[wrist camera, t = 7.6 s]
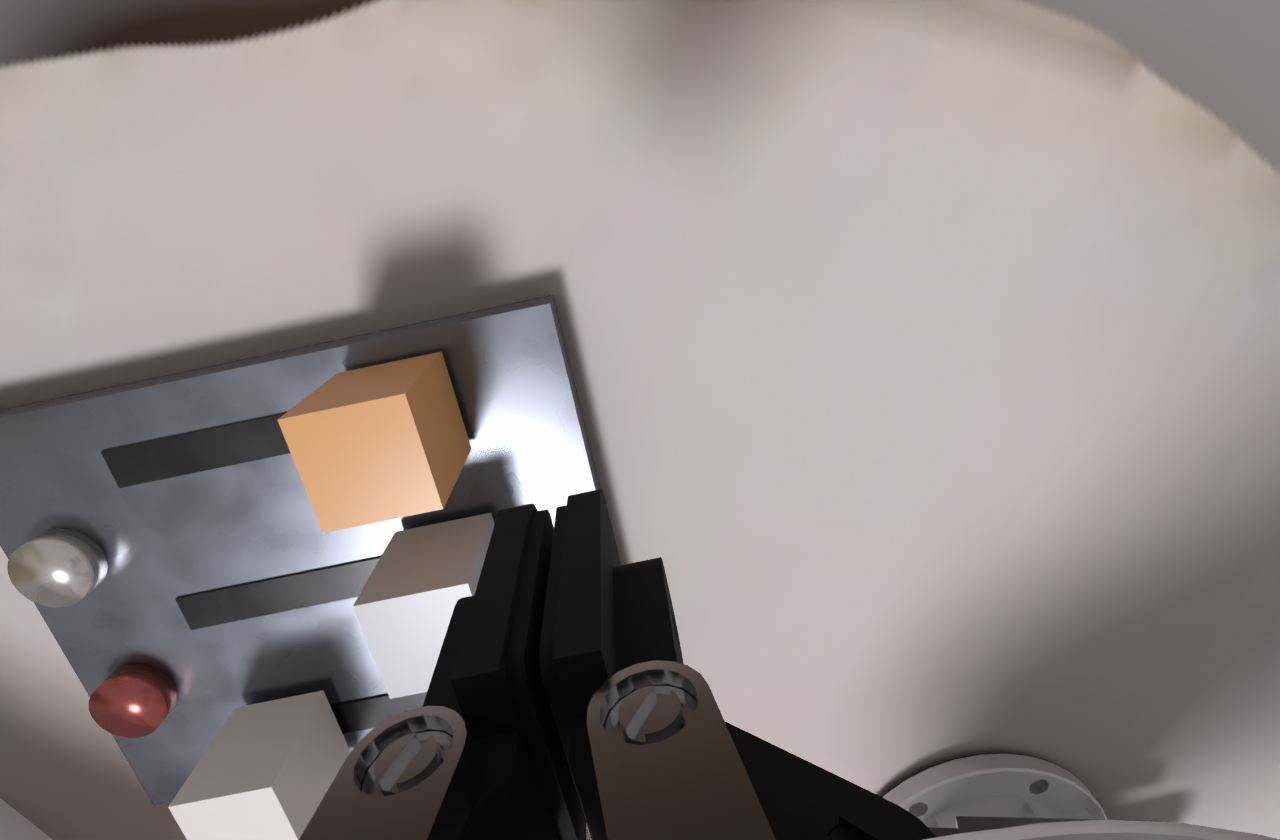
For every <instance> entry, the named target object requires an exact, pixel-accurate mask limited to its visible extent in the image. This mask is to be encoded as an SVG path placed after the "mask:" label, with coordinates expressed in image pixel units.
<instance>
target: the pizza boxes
mask: <svg viewBox="0 0 1280 840" xmlns="http://www.w3.org/2000/svg"><path fill="white" fill-rule="evenodd" d="M0 840H53V839H52V838H50V837H49V836H48V835H46V834H45V833H44V832H43V831H41V830H40V829H39V828H38V827H36V826H35V825H34V824H32V823H31V822H30V821H29V820H27V819H26V818H25V817H24V816H22V815H21V814H20V813H18V812H17V811H16V810H15V809H13V808H12V807H11V806H10V805H8V804H7V803H6V802H4V801H3V800H2V799H1V798H0Z"/></svg>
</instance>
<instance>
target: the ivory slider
mask: <svg viewBox="0 0 1280 840" xmlns="http://www.w3.org/2000/svg"><path fill="white" fill-rule="evenodd" d="M350 753H351V752H350V749H349V747H348V745H347V743H346V740H345V738H344V736H343V734H342V731H341V729H340V727H339V725H338V722H337V720H336V718H335V716H334V713H333V711H332V709H331V707H330V704H329V702H328V700H327V698H326V695H325V693H324V691H323V690H322V691H317V692H312V693H307V694H302V695H297V696H292V697H287V698H282V699H277V700H272V701H267V702H261V703H256V704H251V705H246V706H241V707H236V708H235V709H234V711H233V712H232V714H231V715H230V717H229V718H228V720H227V721H226V723H225V724H224V726H223V727H222V729H221V730H220V731H219V733H218V734H217V736H216V737H215V739H214V740H213V742H212V743H211V745H210V746H209V748H208V749H207V751H206V752H205V753H204V755H203V756H202V758H201V759H200V761H199V762H198V764H197V765H196V767H195V768H194V770H193V771H192V773H191V774H190V776H189V777H188V778H187V780H186V781H185V783H184V784H183V786H182V787H181V789H180V790H179V792H178V793H177V795H176V796H175V798H174V799H173V800H172V802H171V803H170V805H169V806H168V808H169V810H170V811H171V813H172V815H173V816H174V818H175V820H176V822H177V823H178V825H179V827H180V829H181V830H182V832H183V834H184V835H185V837H186V839H187V840H299V839H300V837H301V835H302V834H303V832H304V830H305V828H306V827H307V825H308V823H309V822H310V820H311V818H312V816H313V815H314V813H315V811H316V809H317V808H318V806H319V804H320V803H321V801H322V799H323V797H324V796H325V794H326V792H327V791H328V789H329V787H330V785H331V784H332V782H333V780H334V779H335V777H336V775H337V773H338V772H339V770H340V768H341V767H342V765H343V763H344V761H345V760H346V758H347V757H348V755H349V754H350Z"/></svg>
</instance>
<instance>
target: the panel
mask: <svg viewBox="0 0 1280 840" xmlns="http://www.w3.org/2000/svg"><path fill="white" fill-rule="evenodd" d="M437 352H442V354H443V357H444V360H445V363H446V367H447V370H448V373H449V376H450V380H451V383H452V386H453V390H454V393H455V396H456V399H457V403H458V406H459V409H460V412H461V416H462V419H463V422H464V426H465V429H466V432H467V435H468V439H469V442H470V445H471V448H472V449H471V451H470V453H469V455H468V458H467V460H466V462H465V464H464V466H463V468H462V470H461V472H460V475H459V477H458V479H457V481H456V483H455V485H454V487H453V489H452V492H451V494H450V496H449V498H448V500H447V502H446V504H445V507H444V509H441V510H436V511H431V512H426V513H421V514H416V515H411V516H406V517H401V518H397V519H392V520H387V521H382V522H377V523H372V524H367V525H362V526H357V527H352V528H347V529H342V530H337V531H332V532H327V533H323V532H322V529H321V527H320V524H319V522H318V519H317V517H316V514H315V512H314V510H313V507H312V505H311V502H310V500H309V497H308V495H307V492H306V490H305V487H304V485H303V482H302V480H301V477H300V475H299V472H298V470H297V467H296V465H295V462H294V460H293V458H292V455H291V453H290V450H289V448H288V445H287V443H286V440H285V438H284V435H283V433H282V430H281V428H280V425H279V423H278V419H279V418H280V417H281V416H283V415H284V414H285V413H287V412H288V411H289V410H291V409H292V408H293V407H294V406H296V405H297V404H298V403H300V402H301V401H302V400H303V399H305V398H306V397H307V396H309V395H310V394H311V393H312V392H314V391H315V390H316V389H318V388H319V387H320V386H321V385H323V384H324V383H325V382H327V381H328V380H329V379H330V378H332V377H333V376H334V375H336V374H337V373H340V372H345V371H350V370H355V369H359V368H364V367H369V366H374V365H379V364H384V363H388V362H393V361H398V360H403V359H408V358H413V357H417V356H422V355H427V354H432V353H437ZM599 489H600V488H599V484H598V480H597V475H596V471H595V467H594V463H593V459H592V455H591V451H590V446H589V442H588V438H587V434H586V430H585V426H584V422H583V418H582V413H581V409H580V405H579V401H578V397H577V393H576V389H575V384H574V380H573V376H572V372H571V368H570V364H569V360H568V356H567V351H566V347H565V343H564V339H563V335H562V331H561V327H560V322H559V318H558V314H557V310H556V306H555V302H554V298H553V295H552V296H548V297H543V298H538V299H533V300H528V301H524V302H519V303H514V304H509V305H504V306H500V307H495V308H490V309H485V310H480V311H475V312H471V313H466V314H461V315H456V316H451V317H447V318H442V319H437V320H432V321H427V322H423V323H418V324H413V325H408V326H403V327H398V328H394V329H389V330H384V331H379V332H374V333H370V334H365V335H360V336H355V337H350V338H346V339H341V340H336V341H331V342H326V343H321V344H317V345H312V346H307V347H302V348H297V349H293V350H288V351H283V352H278V353H273V354H269V355H264V356H259V357H254V358H249V359H244V360H240V361H235V362H230V363H225V364H220V365H216V366H211V367H206V368H201V369H196V370H192V371H187V372H182V373H177V374H172V375H168V376H163V377H158V378H153V379H148V380H143V381H139V382H134V383H129V384H124V385H119V386H115V387H110V388H105V389H100V390H95V391H91V392H86V393H81V394H76V395H71V396H66V397H62V398H57V399H52V400H47V401H42V402H38V403H33V404H28V405H23V406H18V407H14V408H9V409H4V410H0V546H1V547H2V549H3V551H4V552H5V554H6V556H7V557H8V559H9V561H8V574H9V577H10V579H11V581H12V583H13V585H14V586H15V588H16V589H17V590H18V591H19V592H20V593H21V594H22V595H24V596H25V597H26V598H28V599H29V600H31V601H33V602H34V603H35V605H36V607H37V608H38V610H39V612H40V613H41V615H42V617H43V618H44V620H45V622H46V624H47V625H48V627H49V629H50V630H51V632H52V634H53V635H54V637H55V639H56V640H57V642H58V644H59V646H60V647H61V649H62V651H63V652H64V654H65V656H66V657H67V659H68V661H69V663H70V664H71V666H72V668H73V669H74V671H75V673H76V674H77V676H78V678H79V679H80V681H81V683H82V685H83V686H84V688H85V690H86V691H87V693H88V695H89V696H90V699H89V711H90V714H91V716H92V717H93V719H94V720H95V722H96V723H97V724H98V725H99V726H100V727H102V728H103V729H104V730H106V731H108V732H110V733H111V734H112V735H113V737H114V739H115V740H116V742H117V744H118V746H119V747H120V749H121V751H122V752H123V754H124V756H125V757H126V759H127V761H128V762H129V764H130V766H131V768H132V769H133V771H134V773H135V774H136V776H137V778H138V779H139V781H140V783H141V785H142V786H143V788H144V790H145V791H146V793H147V795H148V796H149V798H150V800H151V801H152V803H153V805H157V804H162V803H168V802H172V800H173V799H174V798H175V796H176V795H177V793H178V792H179V790H180V789H181V787H182V786H183V784H184V783H185V781H186V780H187V778H188V777H189V776H190V774H191V773H192V771H193V770H194V768H195V767H196V765H197V764H198V762H199V761H200V759H201V758H202V756H203V755H204V753H205V752H206V751H207V749H208V748H209V746H210V745H211V743H212V742H213V740H214V739H215V737H216V736H217V734H218V733H219V731H220V730H221V729H222V727H223V726H224V724H225V723H226V721H227V720H228V718H229V717H230V715H231V714H232V712H233V711H234V709H235V708H236V707H241V706H246V705H251V704H256V703H261V702H267V701H272V700H277V699H282V698H287V697H292V696H297V695H302V694H307V693H312V692H317V691H322V690H323V691H324V693H325V695H326V698H327V700H328V702H329V704H330V707H331V709H332V711H333V713H334V716H335V718H336V720H337V722H338V725H339V727H340V729H341V731H342V734H343V736H344V738H345V740H346V743H347V745H348V747H349V749H350V752H351V751H352V750H353V749H354V747H355V746H356V745H357V743H358V742H359V741H360V740H361V739H362V738H364V737H365V736H366V735H367V734H368V733H369V732H370V731H371V730H372V729H373V728H375V727H377V726H378V725H380V724H381V723H383V722H384V721H386V720H388V719H389V718H391V717H393V716H395V715H398V714H400V713H403V712H405V711H407V710H410V709H414V708H419V707H423V704H424V700H425V697H426V694H427V692H424V693H419V694H413V695H408V696H403V697H398V698H393V699H390V698H389V695H388V693H387V690H386V688H385V685H384V683H383V680H382V678H381V675H380V673H379V670H378V668H377V665H376V663H375V661H374V658H373V656H372V653H371V651H370V648H369V646H368V643H367V641H366V638H365V636H364V633H363V631H362V628H361V626H360V623H359V621H358V618H357V616H356V613H355V611H354V609H353V605H354V603H355V601H356V600H357V598H358V596H359V594H360V593H361V591H362V589H363V587H364V586H365V584H366V582H367V580H368V579H369V577H370V575H371V573H372V572H373V570H374V568H375V566H376V565H377V563H378V561H379V559H380V558H381V556H382V554H383V552H384V551H385V549H386V547H387V545H388V544H389V542H390V540H391V538H392V537H393V535H394V533H395V532H397V531H402V530H407V529H412V528H417V527H422V526H427V525H432V524H437V523H442V522H447V521H452V520H457V519H462V518H467V517H472V516H477V515H482V514H487V513H491V514H492V517H493V520H494V524H495V521H496V518H497V514H498V512H499V510H502V509H506V508H511V507H516V506H521V505H526V504H531V503H533V504H534V505H535V506H536V508H537V511H541V510H545V509H548V511H549V513H550V515H551V519H552V522H553V526H554V524H555V516H556V508H557V507H560V506H565V505H567V498H568V496H570V495H575V494H579V493H584V492H589V491H594V490H599Z"/></svg>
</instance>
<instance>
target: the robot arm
mask: <svg viewBox="0 0 1280 840" xmlns="http://www.w3.org/2000/svg"><path fill="white" fill-rule="evenodd" d="M586 822H587V825H588V828H589V832H590V835H591V838H592V840H1280V839H1276V838H1271V837H1267V836H1263V835H1258V834H1252V833H1245V832H1238V831H1232V830H1225V829H1219V828H1212V827H1205V826H1199V825H1192V824H1185V823H1177V822H1161V821H1148V820H1108V819H1107V817H1106V815H1105V813H1104V811H1103V808H1102V807H1101V805H1100V804H1099V803H1098V802H1097V800H1096V799H1095V798H1094V796H1093V795H1092V794H1091V792H1090V791H1089V790H1088V789H1087V787H1086V786H1085V785H1084V784H1083V783H1082V782H1081V781H1080V780H1078V779H1077V778H1076V777H1075V776H1074V775H1073V774H1072V773H1070V772H1068V771H1067V770H1065V769H1063V768H1061V767H1059V766H1057V765H1055V764H1054V763H1051V762H1048V761H1044V760H1041V759H1038V758H1034V757H1031V756H1023V755H1014V754H984V755H975V756H970V757H965V758H959V759H954V760H951V761H948V762H945V763H942V764H939V765H936V766H934V767H931V768H928V769H926V770H924V771H922V772H920V773H918V774H916V775H914V776H912V777H910V778H908V779H906V780H905V781H904V782H902V783H901V784H899V785H898V786H896V787H895V788H894V789H892V790H891V791H889V792H888V793H886V794H885V795H884V796H883V797H880V796H878V795H876V794H874V793H872V792H870V791H868V790H866V789H863V788H861V787H859V786H857V785H855V784H853V783H851V782H849V781H847V780H845V779H843V778H841V777H839V776H837V775H834V774H832V773H830V772H828V771H826V770H824V769H822V768H820V767H818V766H816V765H814V764H812V763H810V762H808V761H806V760H803V759H801V758H799V757H797V756H795V755H793V754H791V753H789V752H787V751H785V750H783V749H781V748H779V747H777V746H775V745H772V744H770V743H768V742H766V741H764V740H762V739H760V738H758V737H756V736H754V735H752V734H750V733H748V732H746V731H743V730H741V729H739V728H737V727H735V726H733V725H731V724H729V723H727V722H725V721H724V719H723V717H722V715H721V712H720V710H719V708H718V706H717V703H716V701H715V699H714V696H713V694H712V692H711V690H710V687H709V685H708V684H707V682H706V681H705V680H704V678H703V677H702V675H701V674H700V673H698V672H697V671H695V670H694V669H692V668H691V667H689V666H688V665H684V664H683V659H682V653H681V647H680V642H679V636H678V631H677V626H676V621H675V616H674V611H673V606H672V602H671V597H670V592H669V588H668V583H667V579H666V574H665V570H664V565H663V561H662V558H661V557H660V558H656V559H651V560H646V561H641V562H636V563H631V564H626V565H621V563H620V559H619V555H618V551H617V547H616V543H615V539H614V534H613V530H612V526H611V522H610V518H609V514H608V510H607V506H606V502H605V498H604V495H603V492H602V490H601V489H599V490H594V491H589V492H584V493H579V494H575V495H570V496H568V498H567V505H565V506H560V507H557V508H556V516H555V524H554V526H553V522H552V519H551V515H550V513H549V511H548V509H545V510H541V511H537V508H536V506H535V505H534V504H533V503H531V504H526V505H521V506H516V507H511V508H506V509H502V510H499V512H498V514H497V518H496V521H495V525H494V528H493V532H492V535H491V539H490V542H489V546H488V549H487V553H486V556H485V560H484V563H483V567H482V570H481V574H480V577H479V581H478V584H477V588H476V591H475V595H474V596H469V597H464V598H461V599H459V600H458V601H457V603H456V605H455V607H454V610H453V613H452V616H451V620H450V623H449V626H448V629H447V632H446V635H445V638H444V641H443V644H442V648H441V651H440V654H439V657H438V660H437V663H436V666H435V669H434V672H433V676H432V679H431V682H430V685H429V688H428V691H427V694H426V697H425V700H424V704H423V707H419V708H414V709H410V710H407V711H405V712H403V713H400V714H398V715H395V716H393V717H391V718H389V719H388V720H386V721H384V722H383V723H381V724H380V725H378V726H377V727H375V728H373V729H372V730H371V731H370V732H369V733H368V734H367V735H366V736H365V737H364V738H362V739H361V740H360V741H359V742H358V743H357V745H356V746H355V747H354V749H353V750H352V751H351V753H350V754H349V755H348V757H347V758H346V760H345V761H344V763H343V765H342V767H341V768H340V770H339V772H338V773H337V775H336V777H335V779H334V780H333V782H332V784H331V785H330V787H329V789H328V791H327V792H326V794H325V796H324V797H323V799H322V801H321V803H320V804H319V806H318V808H317V809H316V811H315V813H314V815H313V816H312V818H311V820H310V822H309V823H308V825H307V827H306V828H305V830H304V832H303V834H302V835H301V837H300V839H299V840H586Z"/></svg>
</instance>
